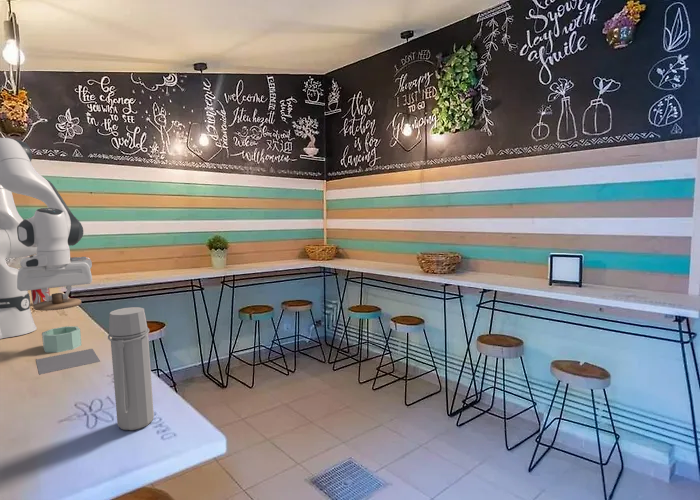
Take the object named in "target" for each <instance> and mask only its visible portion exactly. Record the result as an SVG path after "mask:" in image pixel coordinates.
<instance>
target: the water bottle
mask: <svg viewBox="0 0 700 500" xmlns="http://www.w3.org/2000/svg"><path fill="white" fill-rule="evenodd" d="M108 314H109V318H108V320H109V321H108V323H109V324H108V335H107V340H109V341H110V349H111V359H112V362H111V363H112V371H113V373H112V374H113V375H112V376H113V385H114V387H113V388H114V398H115V409H116V410H115V411H116V422H117V424H116V425H117V427H119V429H121V430H123V431H136V430H140V429H142V428H144V427H147V426H148V425H150V424H151V423H152V422H153V420H154V417H155V412H154V411H155V410H154V398H153V383H152V369H151V358H150V357H151V356H150V355H151V354H150V344H149V343H150V341H149V340H150V339H149V333H150V328H149V327H148V324H147V323H148V322H147V318H146V317H147V316H146V313H145V308H144V307H140V306H139V307H138V306H137V307H134V306H133V307H123V308H118V309H115V310H111V311H110V312H109V313H108Z"/></svg>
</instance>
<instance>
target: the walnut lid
mask: <svg viewBox="0 0 700 500" xmlns="http://www.w3.org/2000/svg"><path fill="white" fill-rule="evenodd" d="M63 294H64V293H62V292H55V293H51V296H52V302H47V301H43V302H39V303H36V304H33V307H32V309H33V310H34V311H42V312H43V311H44V312H45V311H58V310H65V309H71V308H74V307H78V306H80V305H81V304H82V299H80V298H73V297H72V298H71V297H68V300H63Z"/></svg>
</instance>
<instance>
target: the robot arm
mask: <svg viewBox="0 0 700 500" xmlns="http://www.w3.org/2000/svg"><path fill="white" fill-rule="evenodd" d="M32 160H33V153H32V149H31V148H30V145H28V143H27V142H25V141H22V140H20V139H13V138H9V137H0V340H1V339H5V338H11V337H17V336H23V335H26V334H29V333H32V332H36V331H37V329H38V327H37V325H36V324H35V321H34V318H33V315H32V311H31V295H30V293H29V291H31V290H37V289H41V291H42V293H43V294H44V295H45V296H46V300H47V302H52V295H50V296H48V295H47V293H46V292H47V288H49V289H55V288H63V287H64V288H65V289H66V291H65V293H63V300H68V298H69V294H70V293H71V291H72V287H73V286H81V285H90V284H91V283H92V282H93V275H92V272H91V269H92V267H93V265H92V264H93V262H92V259H91V258H89V257H87V256H79V257H77V256H74V257H73V256H72V257H71V250H70V246H75V245H76V244H78V243H79V242H80V241H81V239H83V237H84V228H83V225H82V223H81V222H80V221H79V219H78V218H77V217H76V216H75V215H74V214H73V213H72V210H70V208H69V206H68V205H67V203H66V202H65V200H64V199H63V197H62V196H61V194H60V193H59V192H58V190H57V189H56V187H55V186H54V184H53V183H52V182H51V181H50V180H48V179H46V178H44V176H43V175H41V174H40V173H39V172H38V171H37V170H36V169H35V167H34V166H33V163H32ZM13 193H14V194H16V195H23V196H26V197H31V198H34V199H36V200H39V201H40V202H43V204H44V205H46V207H42V208H41V207H40V208H38V209H36V210H35V212H34V215H33V216H31V217H29V218H26V219H23V217H22V216H21V215H20V213H19V211H18V209H17V207H16V204H15V201H14V200H15V199H14V195H13ZM16 258H17V259H18V258H21V259H20V261H19V264H20V267H19V268H16V267H12V266H9V265H8V264H7V259H16Z"/></svg>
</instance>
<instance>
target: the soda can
mask: <svg viewBox="0 0 700 500" xmlns="http://www.w3.org/2000/svg"><path fill="white" fill-rule="evenodd" d="M30 293H31V295H30V296H31V303H32V304H33V305H34V304H36V303H39V302H43V301H47V300H46V296H45V295H44V294H43V293H42V291H41V289H37V290H30ZM46 293H47V295H48V296H51V292H50V288H47V292H46Z"/></svg>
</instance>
